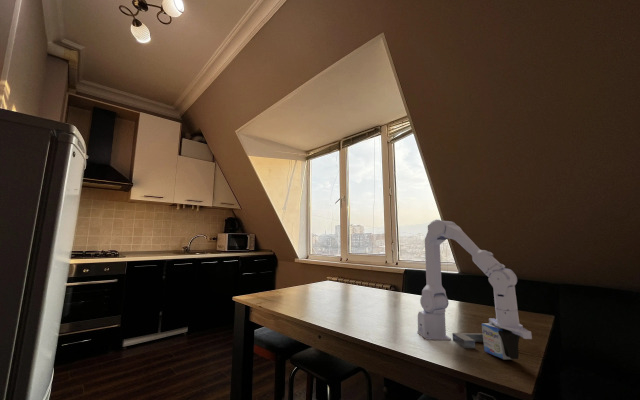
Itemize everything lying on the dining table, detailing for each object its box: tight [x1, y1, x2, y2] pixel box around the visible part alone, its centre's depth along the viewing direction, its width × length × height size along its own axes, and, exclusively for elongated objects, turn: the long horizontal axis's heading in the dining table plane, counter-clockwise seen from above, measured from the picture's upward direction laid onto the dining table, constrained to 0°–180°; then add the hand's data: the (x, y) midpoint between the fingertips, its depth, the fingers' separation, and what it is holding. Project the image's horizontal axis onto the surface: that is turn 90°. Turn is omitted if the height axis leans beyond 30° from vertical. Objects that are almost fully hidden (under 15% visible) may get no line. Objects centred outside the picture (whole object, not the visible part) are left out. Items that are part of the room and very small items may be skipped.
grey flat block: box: [452, 332, 484, 349], centre depth 92 cm, size 15×7×2 cm, turn 93°
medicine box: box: [481, 322, 512, 360], centre depth 84 cm, size 8×4×9 cm, turn 8°
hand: (511, 357), depth 78 cm, fingers closed, pressing on medicine box
